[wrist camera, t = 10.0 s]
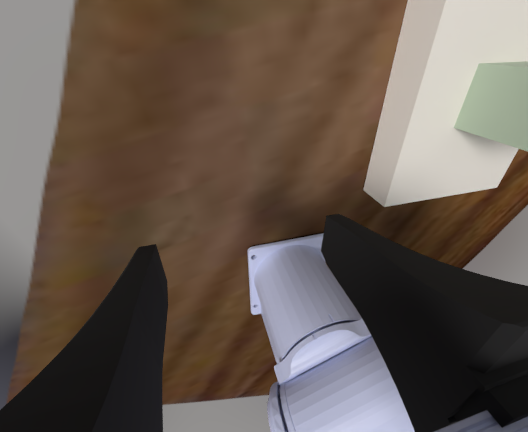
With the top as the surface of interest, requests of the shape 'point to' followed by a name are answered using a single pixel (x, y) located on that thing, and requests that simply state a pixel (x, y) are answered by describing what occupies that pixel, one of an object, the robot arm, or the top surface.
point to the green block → (498, 104)
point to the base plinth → (442, 100)
